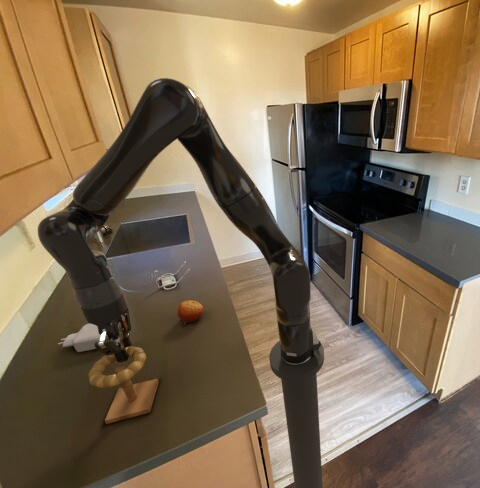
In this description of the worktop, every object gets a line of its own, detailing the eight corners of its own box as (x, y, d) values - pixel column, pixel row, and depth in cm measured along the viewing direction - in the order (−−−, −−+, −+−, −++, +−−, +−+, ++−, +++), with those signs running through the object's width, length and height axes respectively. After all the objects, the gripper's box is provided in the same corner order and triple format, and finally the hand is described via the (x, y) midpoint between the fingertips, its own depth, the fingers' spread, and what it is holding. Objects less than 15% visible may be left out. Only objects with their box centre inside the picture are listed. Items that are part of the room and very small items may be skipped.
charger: (70, 337, 90) (122, 327, 94) (54, 358, 82) (112, 347, 86) (64, 326, 88) (118, 316, 92) (47, 346, 80) (106, 335, 84)
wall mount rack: (155, 278, 124) (151, 266, 122) (187, 269, 131) (184, 258, 129) (159, 293, 112) (155, 281, 110) (194, 283, 119) (191, 271, 117)
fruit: (170, 317, 96) (178, 296, 96) (192, 317, 102) (200, 298, 102) (177, 328, 91) (186, 306, 90) (201, 328, 96) (208, 307, 96)
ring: (151, 347, 70) (149, 340, 69) (139, 382, 61) (136, 374, 60) (102, 358, 68) (99, 350, 67) (81, 396, 58) (77, 388, 57)
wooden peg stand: (158, 381, 74) (146, 350, 69) (149, 412, 66) (135, 379, 61) (120, 391, 72) (105, 359, 67) (106, 424, 64) (88, 390, 59)
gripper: (108, 312, 56) (134, 374, 63) (130, 278, 68) (150, 333, 75) (63, 320, 54) (95, 383, 61) (94, 284, 66) (118, 339, 73)
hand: (125, 355), depth 68 cm, fingers closed on ring, 2 cm apart
